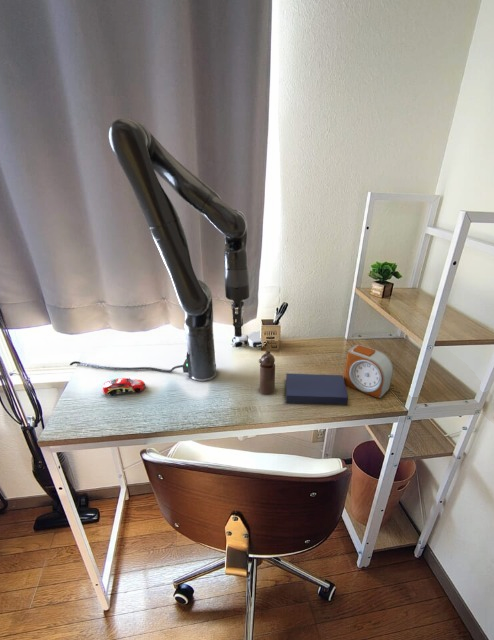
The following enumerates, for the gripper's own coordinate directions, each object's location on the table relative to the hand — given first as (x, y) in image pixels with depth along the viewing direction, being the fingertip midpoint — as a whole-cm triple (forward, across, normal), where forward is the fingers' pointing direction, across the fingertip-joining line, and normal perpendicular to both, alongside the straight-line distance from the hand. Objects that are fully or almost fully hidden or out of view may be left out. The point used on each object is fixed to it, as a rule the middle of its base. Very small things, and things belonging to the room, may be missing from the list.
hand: (239, 331), depth 124 cm
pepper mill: (+18, +9, +9) cm, 22 cm away
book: (+18, +10, +26) cm, 33 cm away
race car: (+18, +9, -38) cm, 43 cm away
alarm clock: (+19, +6, +44) cm, 48 cm away
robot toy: (+17, -26, +3) cm, 31 cm away
